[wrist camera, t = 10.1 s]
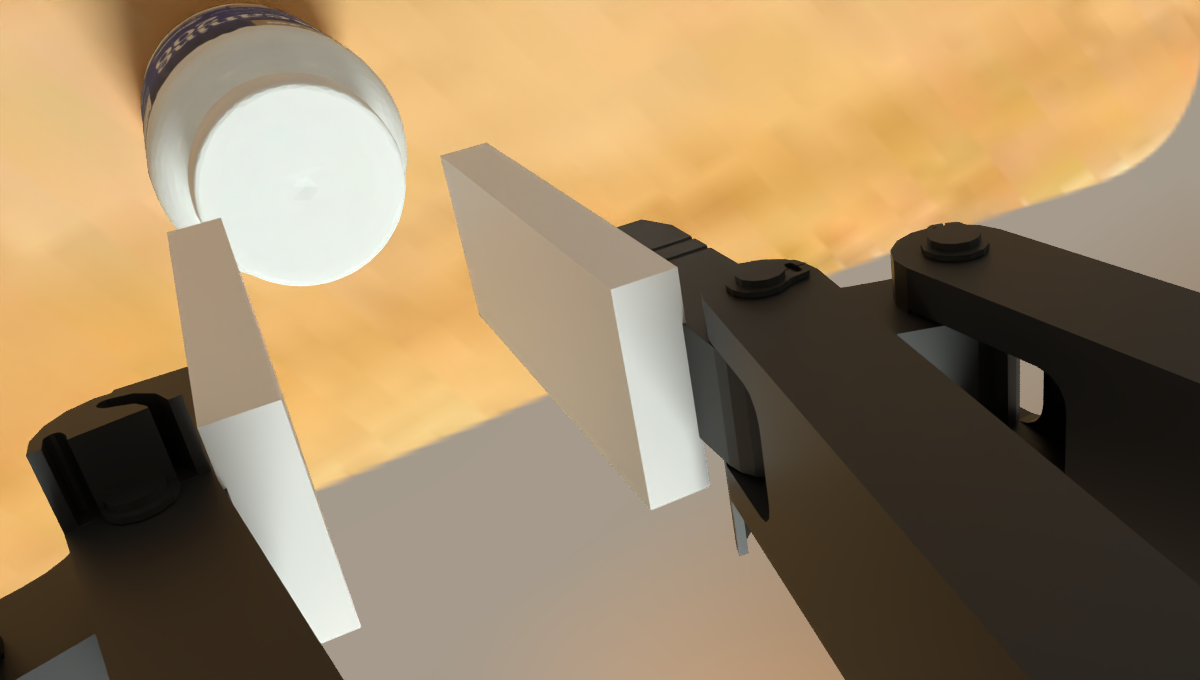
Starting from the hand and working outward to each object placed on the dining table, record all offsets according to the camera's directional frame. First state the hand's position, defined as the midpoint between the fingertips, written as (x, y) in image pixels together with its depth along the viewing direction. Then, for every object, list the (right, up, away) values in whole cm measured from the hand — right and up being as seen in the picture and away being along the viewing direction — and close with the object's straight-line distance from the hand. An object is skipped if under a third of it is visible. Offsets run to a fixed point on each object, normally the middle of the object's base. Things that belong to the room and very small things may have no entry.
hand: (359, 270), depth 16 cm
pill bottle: (-6, +5, +12) cm, 15 cm away
